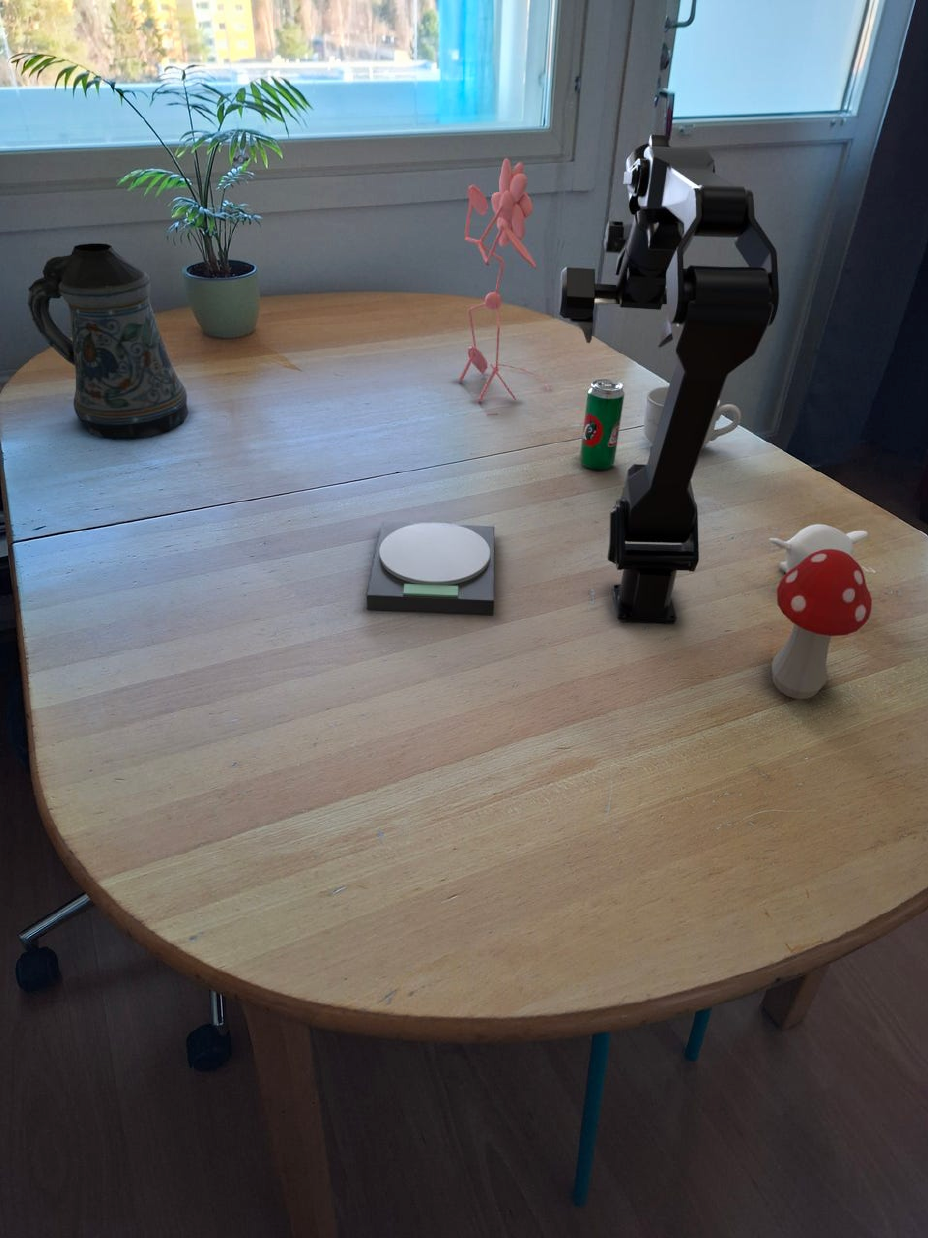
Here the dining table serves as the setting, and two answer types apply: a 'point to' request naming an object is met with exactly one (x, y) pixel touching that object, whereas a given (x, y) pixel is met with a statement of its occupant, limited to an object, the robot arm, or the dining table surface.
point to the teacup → (656, 406)
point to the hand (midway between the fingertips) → (623, 342)
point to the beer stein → (110, 344)
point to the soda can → (601, 424)
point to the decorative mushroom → (818, 617)
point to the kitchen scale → (433, 569)
